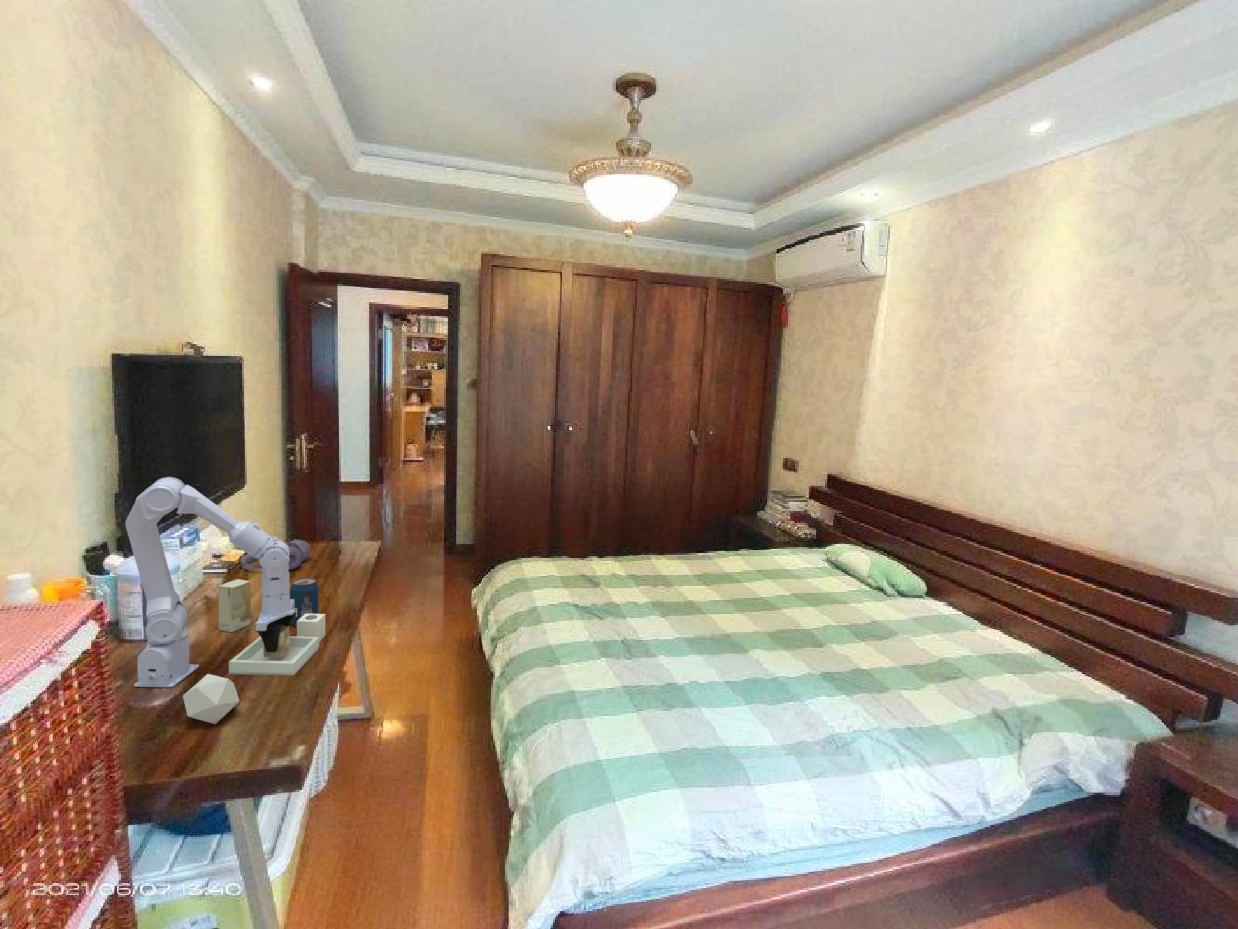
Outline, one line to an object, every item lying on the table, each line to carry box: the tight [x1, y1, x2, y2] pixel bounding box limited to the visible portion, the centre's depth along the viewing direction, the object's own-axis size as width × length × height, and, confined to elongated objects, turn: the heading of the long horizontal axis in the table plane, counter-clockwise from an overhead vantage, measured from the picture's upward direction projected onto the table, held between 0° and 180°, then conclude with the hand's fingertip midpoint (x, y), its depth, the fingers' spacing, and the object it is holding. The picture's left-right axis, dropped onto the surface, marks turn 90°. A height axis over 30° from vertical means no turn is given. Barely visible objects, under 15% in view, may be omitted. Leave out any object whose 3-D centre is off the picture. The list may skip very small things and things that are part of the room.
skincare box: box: [218, 578, 251, 633], centre depth 157 cm, size 6×4×12 cm
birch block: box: [263, 626, 290, 658], centre depth 141 cm, size 4×4×6 cm
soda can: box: [290, 577, 320, 628], centre depth 162 cm, size 7×7×12 cm
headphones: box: [240, 539, 312, 572], centre depth 206 cm, size 18×8×20 cm
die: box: [182, 673, 240, 725], centre depth 117 cm, size 8×9×10 cm
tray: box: [228, 635, 320, 677], centre depth 141 cm, size 14×14×3 cm
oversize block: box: [296, 613, 326, 643], centre depth 153 cm, size 5×5×6 cm
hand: (276, 647), depth 141 cm, fingers open, 4 cm apart
